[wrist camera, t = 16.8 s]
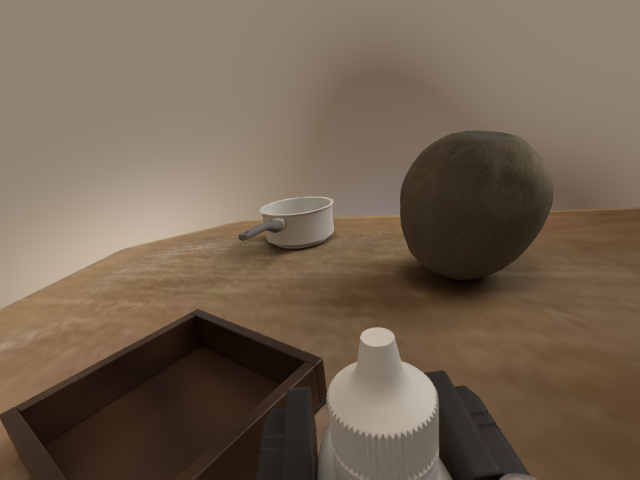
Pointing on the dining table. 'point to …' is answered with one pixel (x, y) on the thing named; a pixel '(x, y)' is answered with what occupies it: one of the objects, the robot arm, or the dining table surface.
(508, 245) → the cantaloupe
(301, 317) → the dining table surface
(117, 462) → the tray
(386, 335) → the eye dropper bottle
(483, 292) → the dining table surface
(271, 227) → the saucepan
